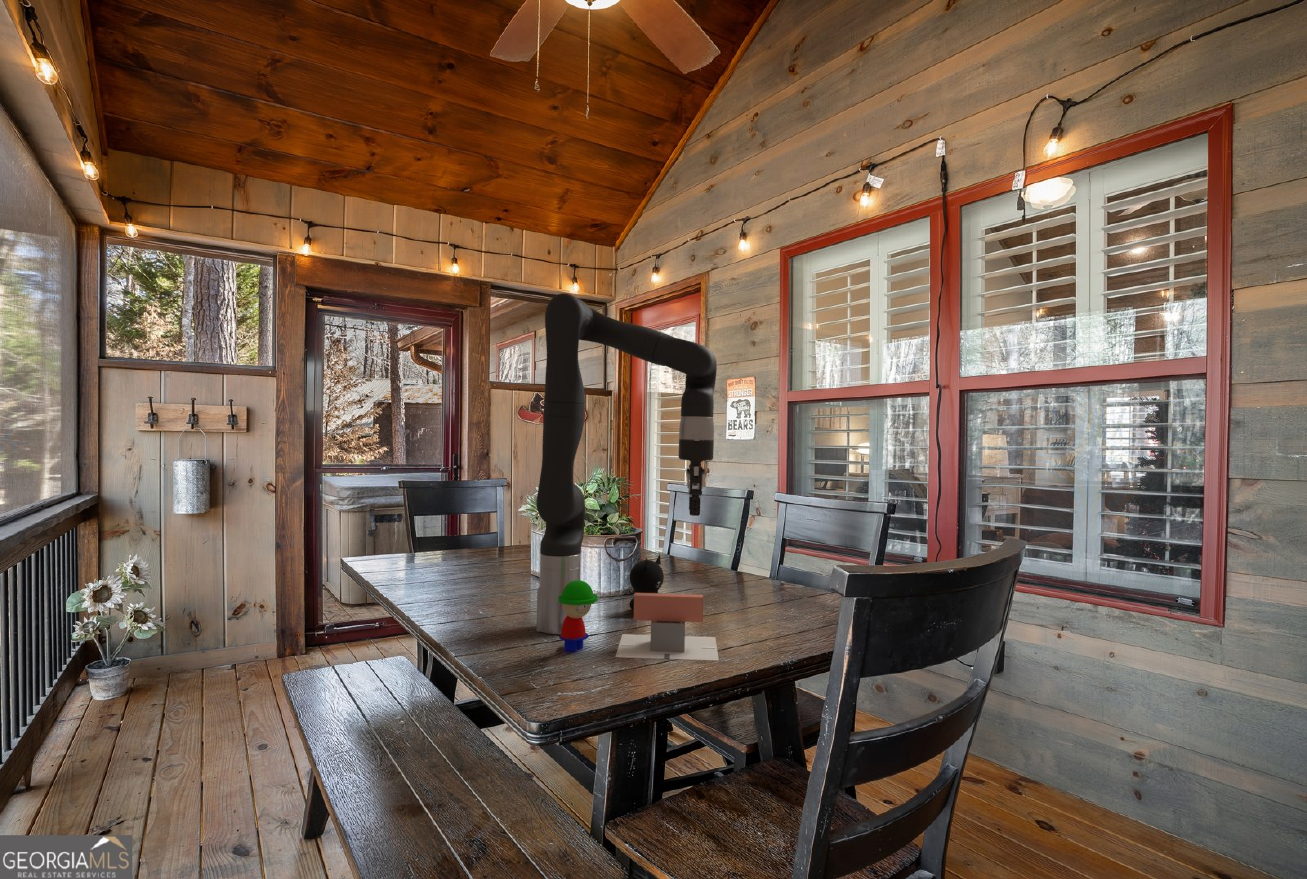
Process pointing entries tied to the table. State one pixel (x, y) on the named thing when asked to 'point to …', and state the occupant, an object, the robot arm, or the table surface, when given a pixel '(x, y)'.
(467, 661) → the table surface
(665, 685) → the table surface
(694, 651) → the lock board
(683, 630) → the red bar with frame
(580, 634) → the toy
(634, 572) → the figurine
